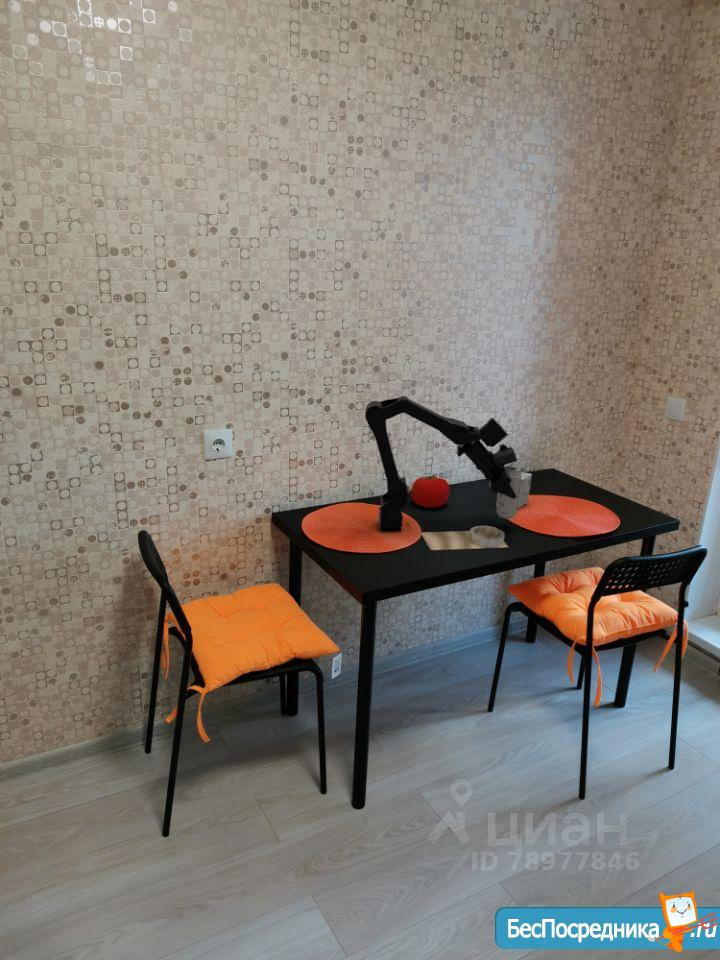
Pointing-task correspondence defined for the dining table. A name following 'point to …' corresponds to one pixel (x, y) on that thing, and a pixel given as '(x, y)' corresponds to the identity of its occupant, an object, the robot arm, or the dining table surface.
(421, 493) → the tomato
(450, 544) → the plate
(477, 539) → the ring clip
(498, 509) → the energy drink can
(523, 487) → the light bulb box
